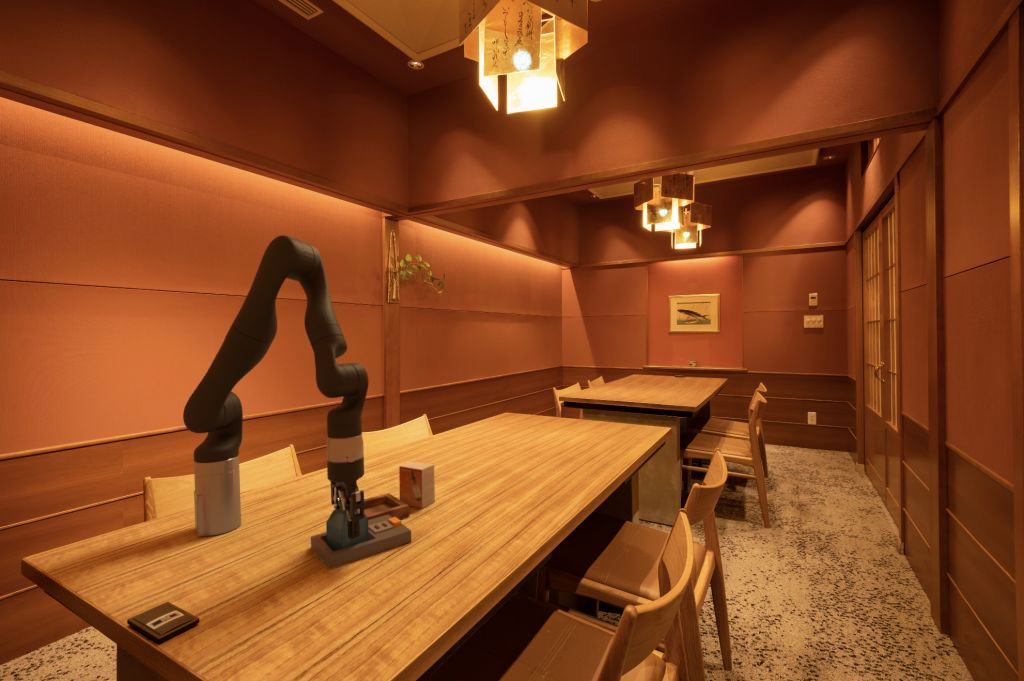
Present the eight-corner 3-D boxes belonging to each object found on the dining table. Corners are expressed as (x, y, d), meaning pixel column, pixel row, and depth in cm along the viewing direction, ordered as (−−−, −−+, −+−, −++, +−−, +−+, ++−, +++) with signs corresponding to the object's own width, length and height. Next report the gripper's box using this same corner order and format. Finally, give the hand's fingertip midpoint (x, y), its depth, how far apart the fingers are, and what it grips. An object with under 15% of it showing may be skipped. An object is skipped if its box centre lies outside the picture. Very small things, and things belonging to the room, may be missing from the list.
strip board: (328, 569, 91) (328, 552, 91) (311, 547, 101) (310, 532, 100) (411, 541, 103) (410, 526, 103) (388, 524, 112) (388, 511, 112)
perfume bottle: (343, 558, 95) (341, 501, 95) (327, 550, 99) (325, 495, 99) (369, 547, 100) (367, 492, 100) (352, 539, 104) (350, 487, 104)
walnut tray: (362, 530, 109) (362, 518, 109) (345, 515, 118) (344, 504, 118) (409, 516, 117) (408, 505, 116) (389, 503, 126) (388, 493, 126)
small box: (399, 504, 125) (398, 465, 125) (412, 497, 130) (411, 460, 130) (422, 509, 121) (421, 469, 121) (435, 501, 126) (434, 463, 126)
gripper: (317, 452, 102) (319, 526, 103) (339, 466, 91) (341, 548, 92) (350, 446, 107) (352, 516, 108) (375, 459, 96) (377, 537, 96)
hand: (347, 531), depth 100 cm, fingers closed on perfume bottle, 7 cm apart
